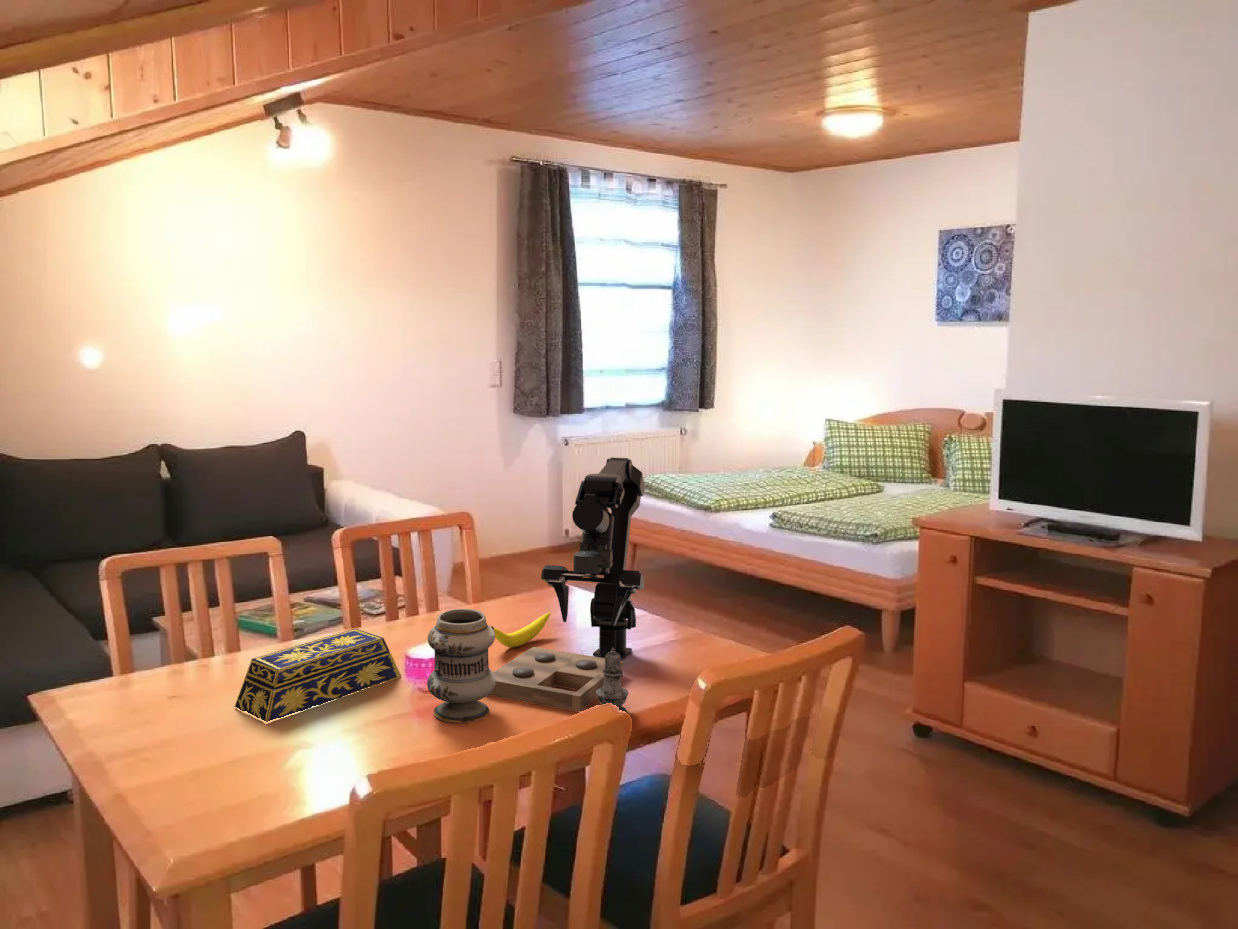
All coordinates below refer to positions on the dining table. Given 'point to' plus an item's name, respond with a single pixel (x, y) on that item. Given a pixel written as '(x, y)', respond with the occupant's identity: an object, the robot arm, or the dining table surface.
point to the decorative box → (315, 674)
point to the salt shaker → (612, 682)
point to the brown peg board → (551, 678)
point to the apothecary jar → (461, 665)
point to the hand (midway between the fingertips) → (588, 623)
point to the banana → (521, 633)
